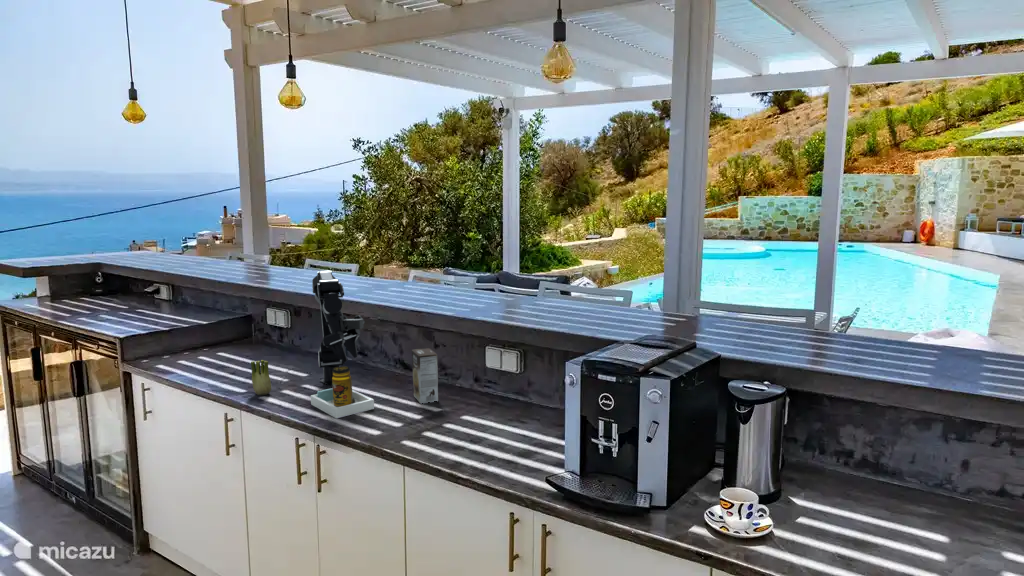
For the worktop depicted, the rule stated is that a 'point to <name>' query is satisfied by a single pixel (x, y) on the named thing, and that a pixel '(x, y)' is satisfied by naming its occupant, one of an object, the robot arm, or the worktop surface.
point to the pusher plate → (325, 394)
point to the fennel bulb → (261, 377)
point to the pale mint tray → (360, 405)
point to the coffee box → (425, 375)
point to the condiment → (342, 387)
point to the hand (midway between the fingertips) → (351, 359)
